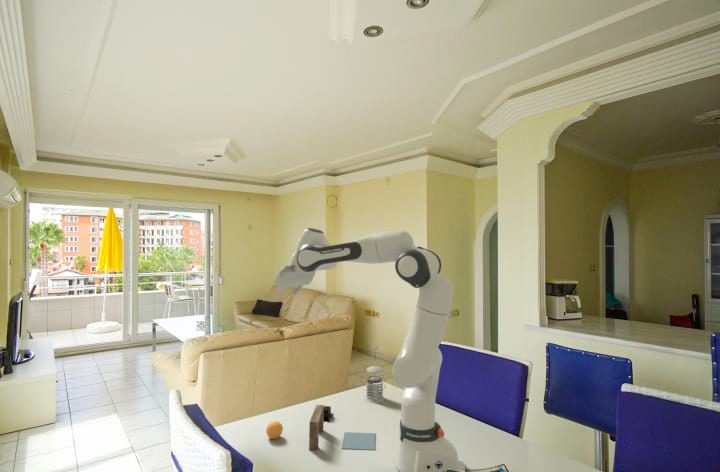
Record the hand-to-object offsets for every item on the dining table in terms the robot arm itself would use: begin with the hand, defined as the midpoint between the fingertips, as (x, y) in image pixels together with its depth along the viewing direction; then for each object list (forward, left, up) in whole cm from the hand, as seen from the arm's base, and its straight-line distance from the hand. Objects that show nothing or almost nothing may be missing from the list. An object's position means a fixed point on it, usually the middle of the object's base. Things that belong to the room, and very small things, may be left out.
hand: (288, 294), depth 156 cm
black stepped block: (-16, -8, -53) cm, 56 cm away
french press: (-37, -29, -53) cm, 70 cm away
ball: (+1, +11, -49) cm, 51 cm away
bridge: (-15, +11, -52) cm, 56 cm away
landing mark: (-31, +11, -52) cm, 62 cm away
